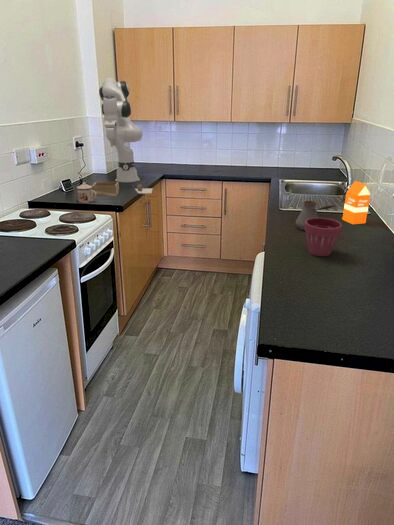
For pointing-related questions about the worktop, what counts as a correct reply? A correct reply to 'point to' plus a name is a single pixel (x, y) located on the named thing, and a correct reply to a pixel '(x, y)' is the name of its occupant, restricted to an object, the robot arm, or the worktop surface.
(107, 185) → the box
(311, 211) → the coffee pot
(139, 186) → the lid
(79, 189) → the teacup with lid
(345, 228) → the worktop surface
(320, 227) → the plant pot
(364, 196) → the orange juice
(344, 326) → the worktop surface
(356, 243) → the worktop surface
